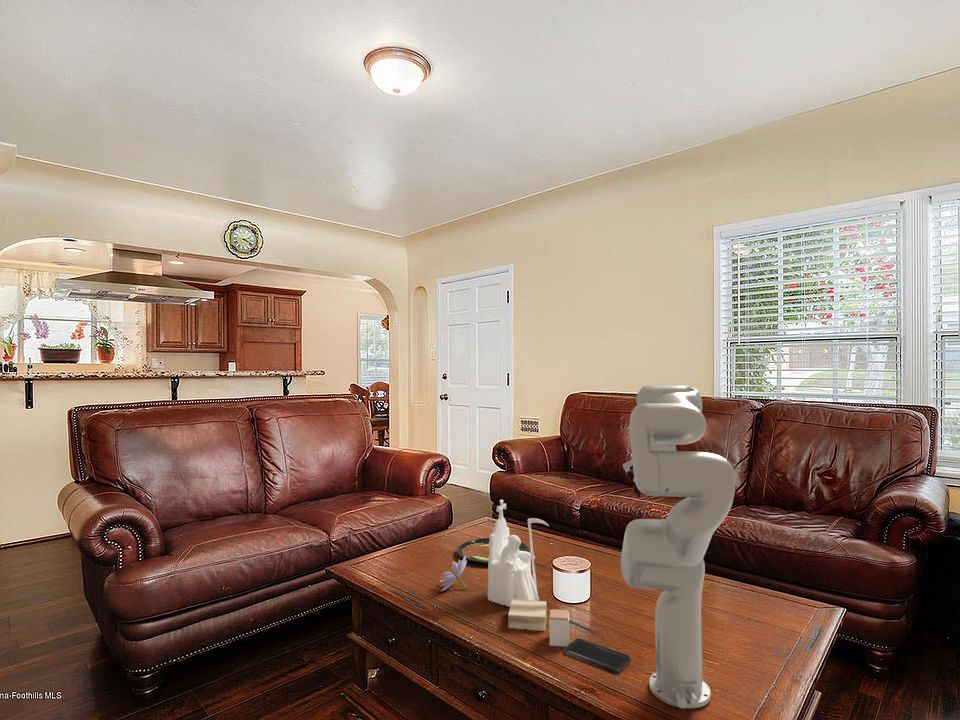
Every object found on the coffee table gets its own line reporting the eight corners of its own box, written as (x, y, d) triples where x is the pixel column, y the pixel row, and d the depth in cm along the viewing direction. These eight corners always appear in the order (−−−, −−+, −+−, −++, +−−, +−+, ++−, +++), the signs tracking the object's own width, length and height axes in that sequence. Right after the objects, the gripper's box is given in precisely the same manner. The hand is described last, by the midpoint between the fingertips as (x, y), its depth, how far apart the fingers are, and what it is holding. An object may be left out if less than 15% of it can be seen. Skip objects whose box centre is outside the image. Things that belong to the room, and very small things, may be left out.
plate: (541, 550, 206) (541, 544, 206) (507, 574, 182) (507, 567, 183) (481, 539, 221) (481, 533, 221) (442, 560, 197) (442, 553, 197)
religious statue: (522, 614, 152) (523, 511, 152) (484, 601, 160) (485, 503, 160) (551, 593, 166) (551, 499, 166) (514, 583, 174) (515, 492, 174)
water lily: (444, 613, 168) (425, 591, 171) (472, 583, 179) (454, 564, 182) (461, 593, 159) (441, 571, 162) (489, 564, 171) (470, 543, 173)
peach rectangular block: (569, 647, 134) (569, 618, 134) (549, 645, 134) (549, 617, 135) (569, 637, 138) (568, 610, 139) (550, 635, 139) (549, 608, 139)
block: (545, 632, 142) (544, 617, 142) (508, 629, 144) (508, 615, 144) (546, 615, 152) (546, 601, 152) (512, 613, 153) (512, 599, 154)
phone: (618, 671, 121) (562, 649, 131) (618, 676, 121) (562, 654, 131) (632, 656, 127) (578, 637, 137) (632, 661, 127) (578, 641, 137)
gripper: (623, 433, 137) (624, 499, 137) (693, 433, 134) (694, 500, 134) (620, 430, 144) (621, 492, 144) (686, 430, 142) (687, 494, 141)
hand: (656, 496), depth 139 cm, fingers open, 9 cm apart
